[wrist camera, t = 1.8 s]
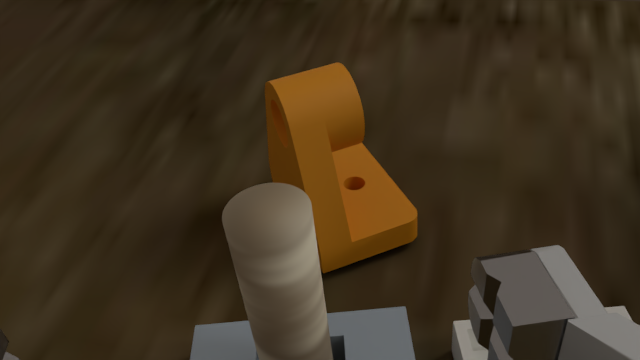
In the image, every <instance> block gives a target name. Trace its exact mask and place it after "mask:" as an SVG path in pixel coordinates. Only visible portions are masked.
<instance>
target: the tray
mask: <svg viewBox="0 0 640 360" xmlns="http://www.w3.org/2000/svg"><path fill="white" fill-rule="evenodd" d="M605 310H606V311H607V313H618V314H620V315H622V316H624V317H626V318H627V319H629V320H631V321H632V319H631V317H630V315H629V314H628V312H627V310H626V308H625V306H617V307H606V308H605ZM451 350H452V355H453V359H454V360H487V358H488V350H487V349H486V348H484V347H483V346H481V345H480V344H478V342H477V340H476V337H475V335H474V332H473V329H472V326H471V322H470V320H461V321H453V333H452V349H451Z"/></svg>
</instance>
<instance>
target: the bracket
mask: <svg viewBox="0 0 640 360" xmlns="http://www.w3.org/2000/svg"><path fill="white" fill-rule="evenodd" d="M265 101H266V118H267V135H268V152H269V164H270V170H271V175H272V181H273V183H285V184H290V185H293V186H295V187H298V188H299V189H301V190H302V191H304V192H305V193H306V194H307V195H308V197H309V199H310V201H311V205H312V212H313V219H314V226H315V233H316V241H317V248H318V255H319V262H320V269H321V270H322V272H323V274H324V273H326V272H329V271H332V270H335V269H337V268H340V267H343V266H346V265H349V264H351V263H354V262H357V261H360V260H363V259H365V258H368V257H371V256H374V255H376V254H379V253H382V252H385V251H388V250H390V249H393V248H396V247H399V246H401V245H404V244H407V243H410V242H412V241H413V240H414V239H415V238H416V237H417V210H416V208H415V207H414V206H413V205H412V203H411V202H410V201H409V200H408V198H407V197H406V196H405V195H404V194H403V192H402V191H401V190H400V189H399V187H398V186H397V185H396V184H395V183H394V181H393V180H392V179H391V178H390V177H389V175H388V174H387V173H386V172H385V170H384V169H383V168H382V167H381V166H380V164H379V163H378V162H377V161H376V159H375V158H374V157H373V156H372V155H371V153H370V152H369V151H368V150H367V148H366V147H365V146H364V145H363V144H362V141H363V139H364V134H365V121H364V113H363V108H362V104H361V100H360V97H359V94H358V91H357V88H356V85H355V83H354V81H353V79H352V77H351V75H350V73H349V72H348V70H347V69H346V68H345V67H344V66H343V65H342V64H341V63H334V64H330V65H326V66H323V67H319V68H315V69H312V70H308V71H304V72H301V73H297V74H294V75H290V76H286V77H283V78H279V79H275V80H272V81H268V82H266V84H265Z"/></svg>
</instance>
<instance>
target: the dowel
mask: <svg viewBox="0 0 640 360" xmlns="http://www.w3.org/2000/svg"><path fill="white" fill-rule="evenodd" d="M222 223H223V227H224V230H225V234H226V238H227V242H228V245H229V249H230V253H231V257H232V260H233V264H234V268H235V272H236V275H237V279H238V283H239V287H240V290H241V294H242V298H243V302H244V305H245V309H246V313H247V317H248V320H249V324H250V328H251V331H252V335H253V339H254V343H255V346H256V350H257V354H258V358H259V360H333V355H332V348H331V341H330V334H329V326H328V319H327V312H326V305H325V298H324V291H323V283H322V276H321V269H320V262H319V255H318V248H317V241H316V233H315V226H314V219H313V212H312V205H311V201H310V199H309V197H308V195H307V194H306V193H305V192H304V191H302V190H301V189H299V188H298V187H295V186H293V185H290V184H285V183H264V184H259V185H255V186H252V187H250V188H247V189H245V190H243V191H241V192H240V193H238V194H237V195H235V196H234V197H233V198H232V199H231V200H230V201H229V202H228V203H227V205H226V206H225V208H224V210H223V214H222Z"/></svg>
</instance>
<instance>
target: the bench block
mask: <svg viewBox="0 0 640 360" xmlns="http://www.w3.org/2000/svg"><path fill="white" fill-rule="evenodd" d="M327 319H328V326H329V334H330V341H331V348H332V355H333V360H415V355H414V350H413V344H412V339H411V334H410V328H409V323H408V318H407V312H406V307H405V306H403V307H392V308H381V309H370V310H359V311H348V312H337V313H327ZM190 360H259V358H258V354H257V350H256V346H255V343H254V339H253V335H252V331H251V328H250V324H249V321H239V322H228V323H217V324H206V325H195V331H194V337H193V343H192V350H191V356H190Z"/></svg>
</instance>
